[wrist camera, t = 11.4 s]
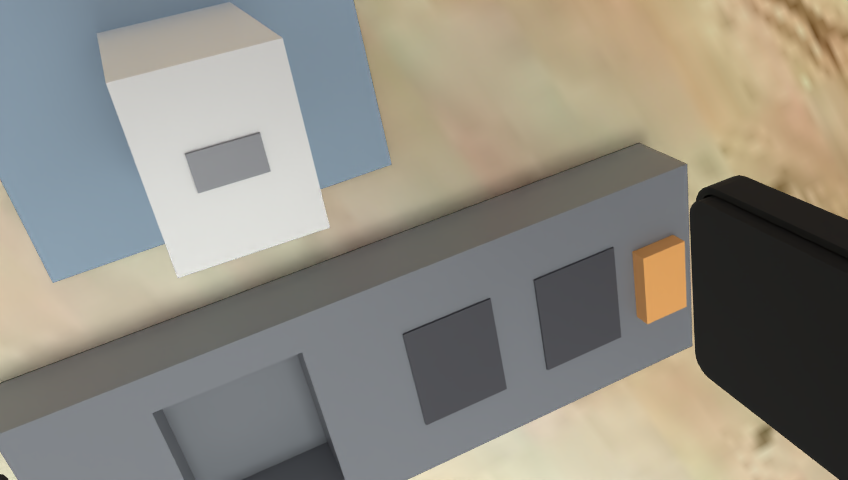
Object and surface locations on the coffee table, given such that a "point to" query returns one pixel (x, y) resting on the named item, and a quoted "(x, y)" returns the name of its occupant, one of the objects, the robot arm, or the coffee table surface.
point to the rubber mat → (103, 134)
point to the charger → (214, 133)
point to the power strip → (384, 344)
